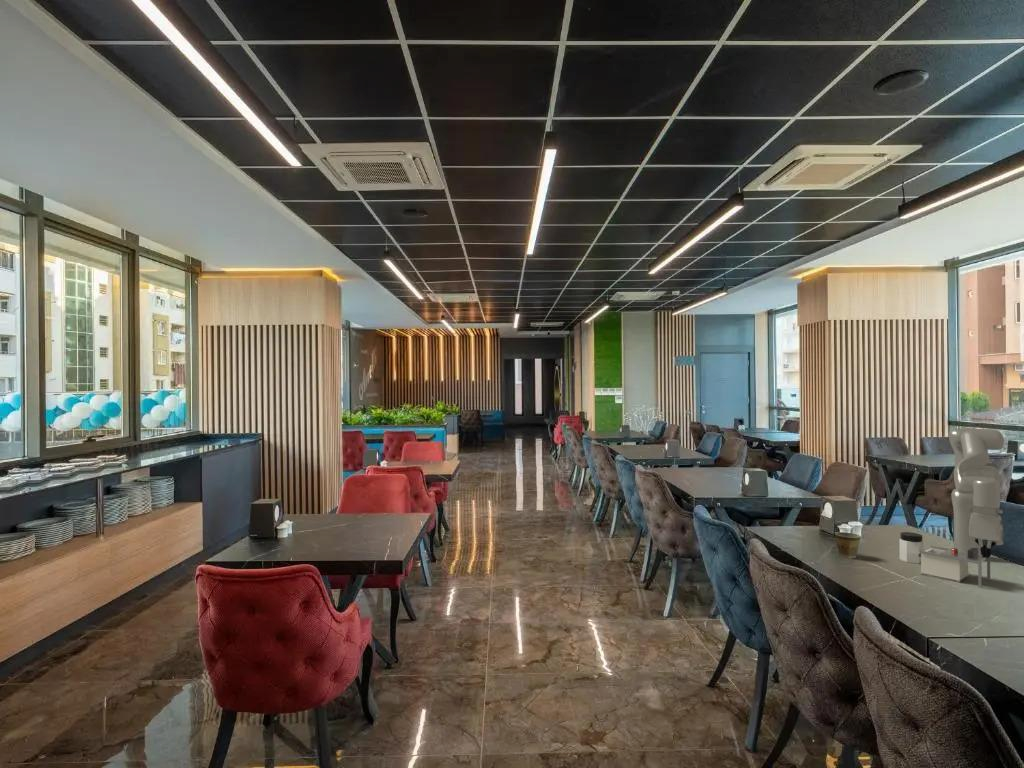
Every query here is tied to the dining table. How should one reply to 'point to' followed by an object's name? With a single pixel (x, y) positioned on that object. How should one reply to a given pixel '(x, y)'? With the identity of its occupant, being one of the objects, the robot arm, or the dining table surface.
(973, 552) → the lid
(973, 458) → the robot arm
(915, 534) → the jar
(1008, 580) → the dining table surface
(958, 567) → the white box with rails
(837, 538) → the ceramic cup
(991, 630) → the dining table surface
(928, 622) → the dining table surface
